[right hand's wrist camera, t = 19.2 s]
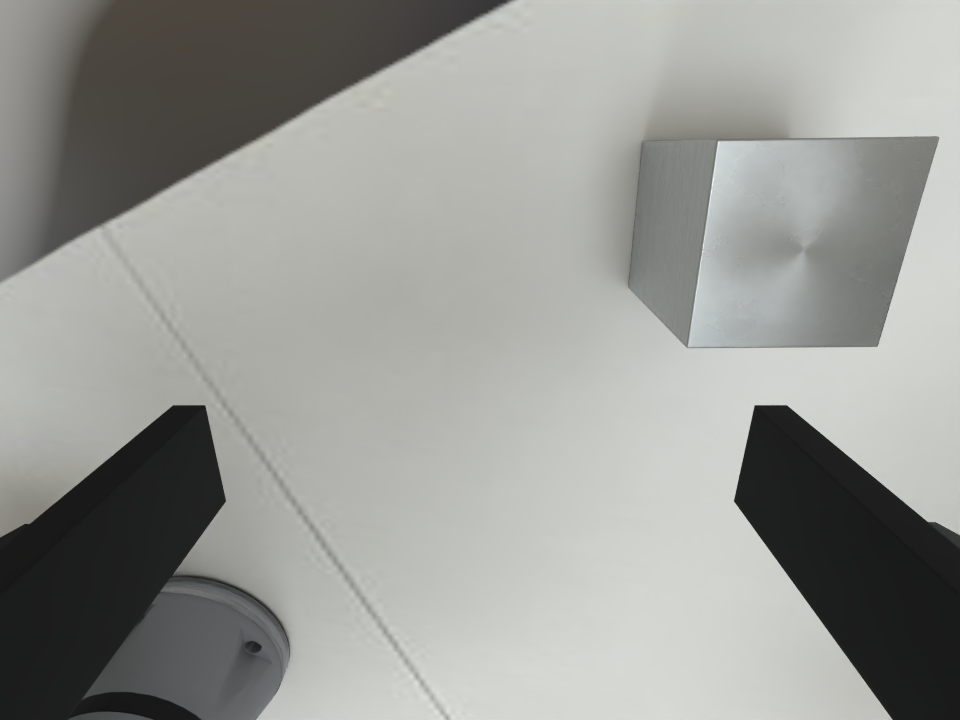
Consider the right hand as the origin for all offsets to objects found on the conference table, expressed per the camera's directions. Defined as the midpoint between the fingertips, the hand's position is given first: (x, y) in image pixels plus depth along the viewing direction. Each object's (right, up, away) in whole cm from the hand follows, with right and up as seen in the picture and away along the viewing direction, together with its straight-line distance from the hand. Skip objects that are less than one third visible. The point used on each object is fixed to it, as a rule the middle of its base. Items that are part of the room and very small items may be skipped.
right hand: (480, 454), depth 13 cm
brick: (+14, +11, +19) cm, 26 cm away
